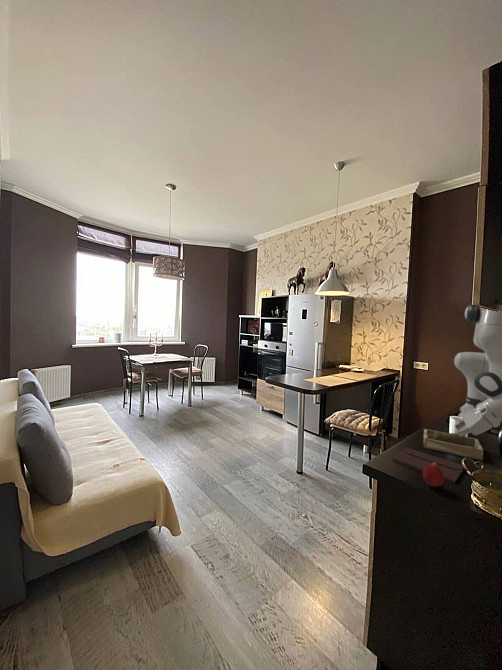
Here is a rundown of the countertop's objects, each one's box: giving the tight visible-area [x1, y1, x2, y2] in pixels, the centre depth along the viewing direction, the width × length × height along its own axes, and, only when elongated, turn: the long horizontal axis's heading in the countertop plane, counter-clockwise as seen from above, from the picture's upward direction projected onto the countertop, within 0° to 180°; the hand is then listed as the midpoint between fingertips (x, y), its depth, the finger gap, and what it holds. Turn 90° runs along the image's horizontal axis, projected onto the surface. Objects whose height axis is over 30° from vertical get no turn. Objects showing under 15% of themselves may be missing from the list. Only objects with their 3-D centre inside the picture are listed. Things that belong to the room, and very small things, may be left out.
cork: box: [433, 430, 466, 446], centre depth 127 cm, size 6×6×11 cm
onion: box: [422, 463, 445, 488], centre depth 95 cm, size 6×6×8 cm
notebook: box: [392, 447, 465, 484], centre depth 110 cm, size 15×20×2 cm
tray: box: [423, 428, 484, 461], centre depth 127 cm, size 14×20×4 cm
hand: (457, 431), depth 125 cm, fingers open, 8 cm apart
